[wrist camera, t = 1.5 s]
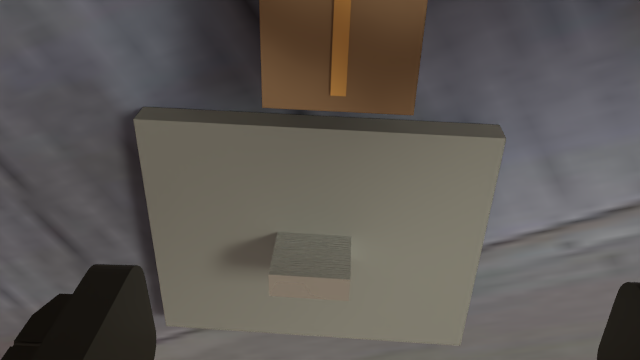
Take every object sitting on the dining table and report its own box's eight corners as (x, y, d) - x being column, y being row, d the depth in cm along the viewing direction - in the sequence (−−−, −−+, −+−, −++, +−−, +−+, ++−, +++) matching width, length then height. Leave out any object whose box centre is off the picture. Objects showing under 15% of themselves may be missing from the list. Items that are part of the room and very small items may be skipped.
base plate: (143, 106, 29) (133, 119, 27) (499, 124, 28) (506, 138, 27) (173, 308, 36) (166, 325, 35) (456, 327, 35) (460, 345, 34)
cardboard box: (277, -90, 24) (256, -73, 19) (420, -85, 23) (436, -66, 19) (279, 62, 27) (261, 108, 22) (404, 68, 27) (413, 116, 22)
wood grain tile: (277, 231, 30) (268, 274, 27) (351, 236, 30) (350, 279, 27) (277, 252, 31) (269, 296, 28) (350, 256, 31) (348, 301, 28)
